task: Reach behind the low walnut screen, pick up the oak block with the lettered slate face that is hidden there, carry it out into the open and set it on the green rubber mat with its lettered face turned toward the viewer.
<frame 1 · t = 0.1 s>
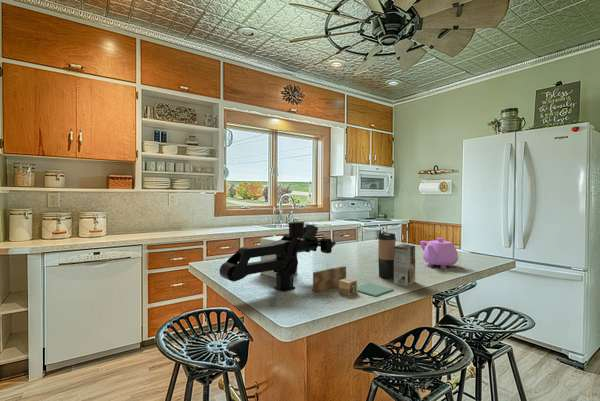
hand: (328, 241, 146), 17 cm above the countertop, tool horizontal, fingers open, 9 cm apart
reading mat: (372, 290, 127), on the countertop
screen: (330, 287, 131), on the countertop
supplement box: (279, 274, 155), on the countertop
letter block: (347, 293, 124), on the countertop
travel mug: (386, 277, 148), on the countertop
teapot: (435, 266, 170), on the countertop
coffee box: (404, 283, 138), on the countertop
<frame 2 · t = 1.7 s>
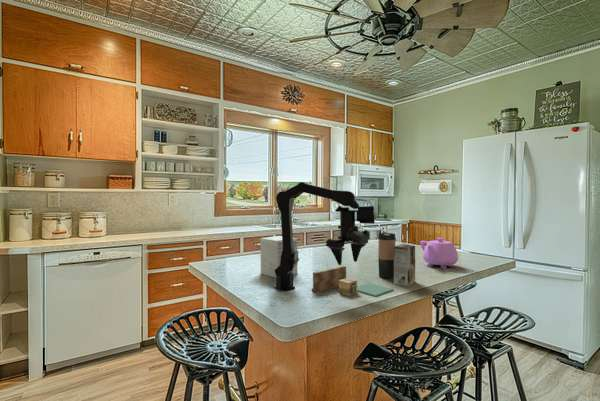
hand: (347, 263, 124), 12 cm above the countertop, tool pointing down, fingers open, 9 cm apart
nothing on the countertop moved.
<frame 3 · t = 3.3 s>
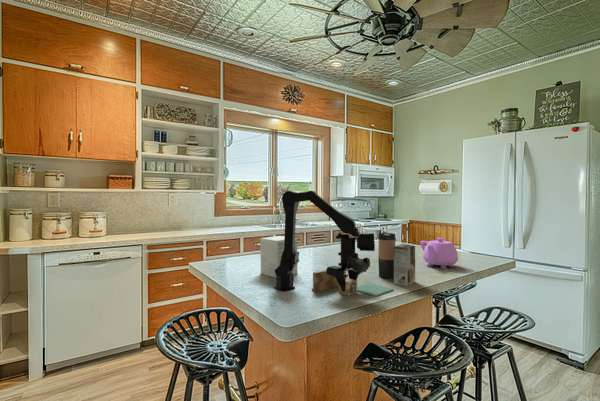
hand: (347, 290, 124), 1 cm above the countertop, tool pointing down, fingers closed on letter block, 5 cm apart
letter block: (347, 292, 124), on the countertop, touching gripper
everything else where it was.
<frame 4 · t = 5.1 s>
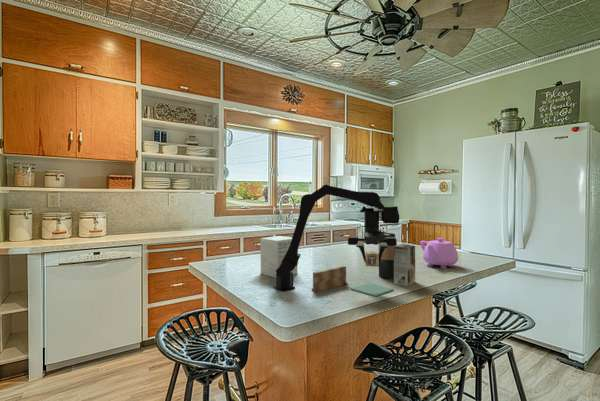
hand: (372, 262, 127), 11 cm above the countertop, tool pointing down, fingers closed on letter block, 5 cm apart
letter block: (372, 265, 127), point 10 cm above the countertop, touching gripper
everything else where it was.
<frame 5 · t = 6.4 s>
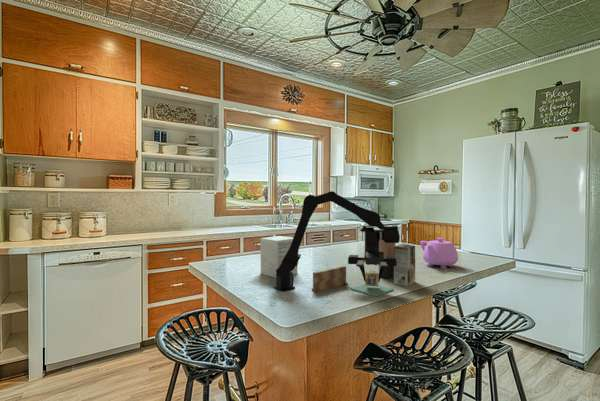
hand: (371, 281, 127), 3 cm above the countertop, tool pointing down, fingers closed on letter block, 5 cm apart
letter block: (371, 284, 127), point 2 cm above the countertop, touching gripper
everything else where it was.
when the fingers open (2 cm above the countertop, at t = 7.1 s): letter block stays where it is, resting on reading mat.
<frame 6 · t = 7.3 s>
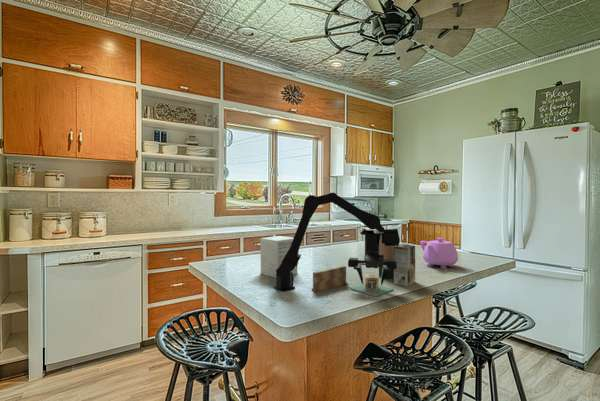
hand: (371, 284, 127), 2 cm above the countertop, tool pointing down, fingers open, 7 cm apart
letter block: (371, 288, 127), point 1 cm above the countertop, touching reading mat
everything else where it was.
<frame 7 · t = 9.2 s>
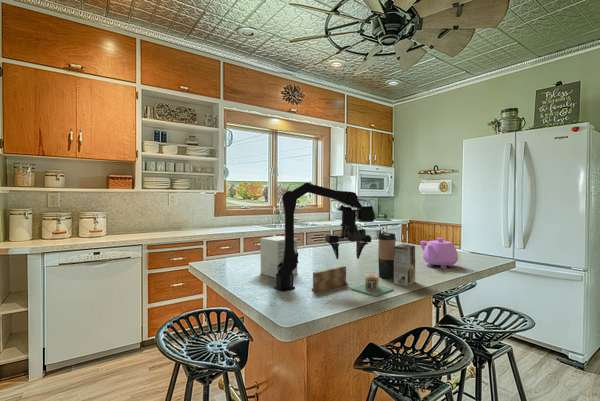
hand: (347, 258, 133), 11 cm above the countertop, tool pointing down, fingers open, 9 cm apart
nothing on the countertop moved.
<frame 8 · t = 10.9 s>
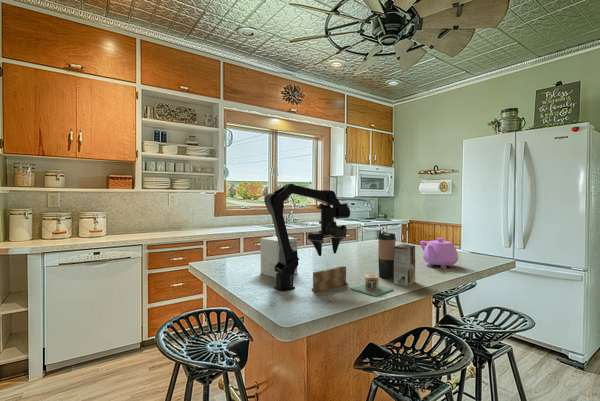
hand: (327, 254, 139), 12 cm above the countertop, tool pointing down, fingers open, 9 cm apart
nothing on the countertop moved.
at the end: letter block inside the target area on the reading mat (0.1 cm from its centre), point 0.6 cm above the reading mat's base; letter block tilted 0°; the gripper is holding nothing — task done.
